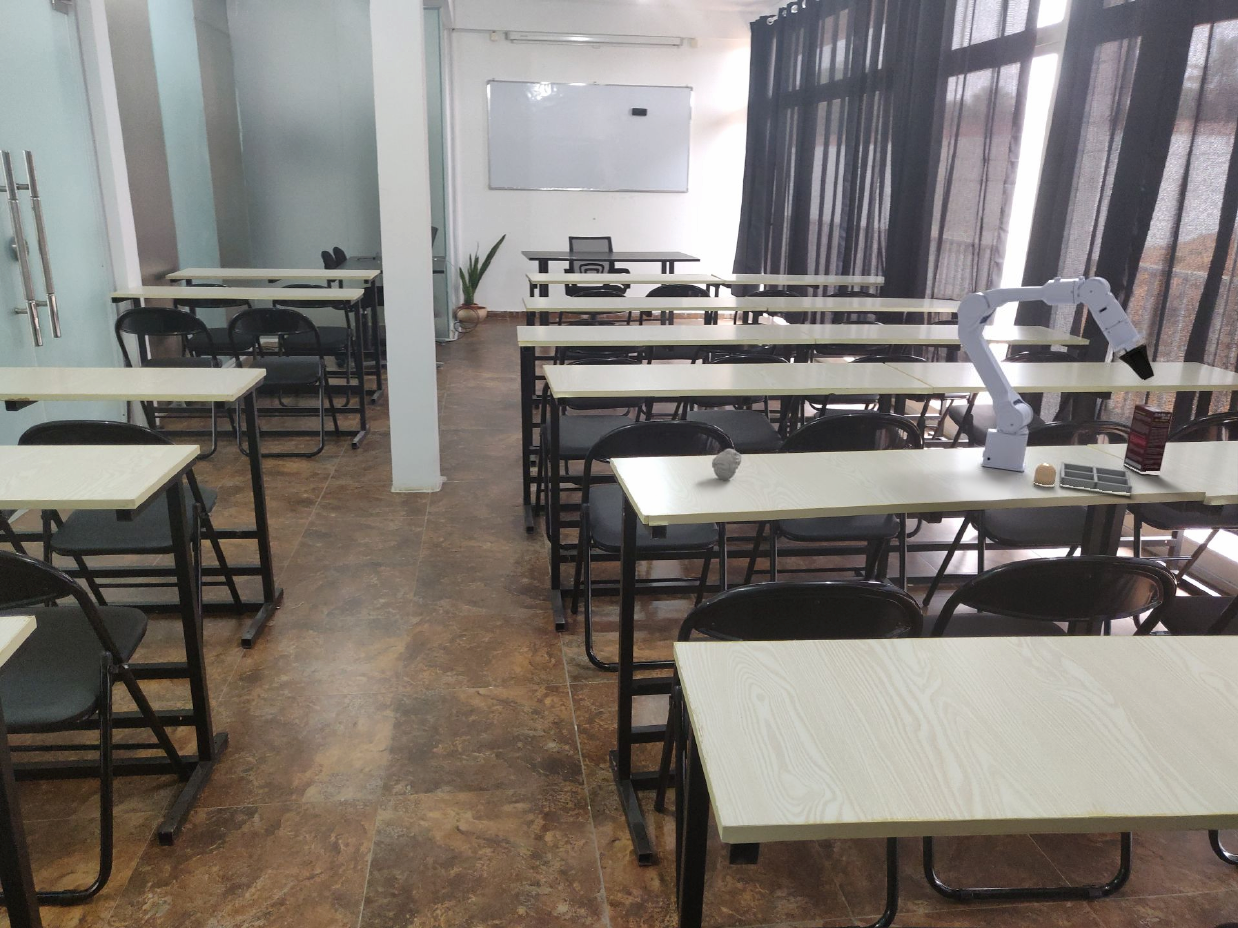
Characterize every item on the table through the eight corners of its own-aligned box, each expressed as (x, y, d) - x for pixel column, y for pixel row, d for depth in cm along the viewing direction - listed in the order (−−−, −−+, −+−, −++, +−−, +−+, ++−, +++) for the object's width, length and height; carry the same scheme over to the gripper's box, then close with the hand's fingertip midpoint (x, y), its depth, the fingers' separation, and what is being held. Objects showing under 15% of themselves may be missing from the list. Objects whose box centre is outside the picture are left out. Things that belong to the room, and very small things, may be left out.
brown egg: (1032, 485, 205) (1036, 464, 203) (1033, 480, 209) (1036, 460, 207) (1053, 488, 203) (1057, 467, 202) (1054, 483, 207) (1057, 462, 206)
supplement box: (1160, 476, 215) (1174, 412, 211) (1140, 475, 216) (1153, 411, 211) (1141, 466, 224) (1153, 404, 219) (1121, 465, 224) (1134, 403, 219)
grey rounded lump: (745, 481, 201) (747, 451, 199) (719, 484, 198) (721, 454, 196) (731, 473, 206) (733, 444, 204) (705, 476, 203) (706, 447, 201)
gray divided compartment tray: (1059, 486, 204) (1061, 477, 204) (1060, 471, 217) (1061, 462, 216) (1129, 496, 199) (1131, 486, 198) (1126, 480, 211) (1127, 471, 210)
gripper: (1135, 314, 191) (1169, 368, 189) (1132, 317, 204) (1164, 368, 202) (1102, 331, 194) (1136, 385, 192) (1101, 333, 207) (1132, 384, 205)
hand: (1148, 377), depth 197 cm, fingers open, 7 cm apart
